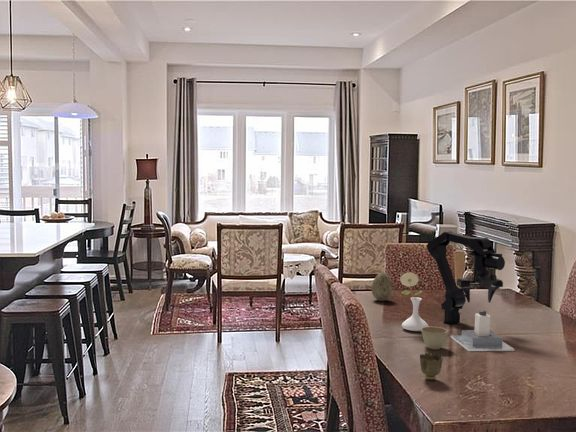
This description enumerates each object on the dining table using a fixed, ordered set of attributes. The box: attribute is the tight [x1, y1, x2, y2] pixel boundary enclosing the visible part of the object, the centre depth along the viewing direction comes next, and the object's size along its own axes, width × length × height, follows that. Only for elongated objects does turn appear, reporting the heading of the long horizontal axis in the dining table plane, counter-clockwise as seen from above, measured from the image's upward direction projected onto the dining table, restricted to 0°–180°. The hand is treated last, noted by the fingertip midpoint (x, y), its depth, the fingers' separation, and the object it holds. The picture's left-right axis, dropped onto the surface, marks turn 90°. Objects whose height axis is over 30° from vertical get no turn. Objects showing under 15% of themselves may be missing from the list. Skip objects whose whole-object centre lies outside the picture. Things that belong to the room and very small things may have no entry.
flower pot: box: [420, 326, 449, 350], centre depth 246 cm, size 10×10×7 cm
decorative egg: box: [371, 271, 393, 302], centre depth 329 cm, size 11×11×15 cm
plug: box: [473, 309, 491, 336], centre depth 252 cm, size 4×4×12 cm
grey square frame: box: [450, 329, 515, 352], centre depth 253 cm, size 20×18×4 cm
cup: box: [419, 352, 444, 382], centre depth 209 cm, size 8×7×8 cm
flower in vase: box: [399, 271, 430, 332], centre depth 272 cm, size 13×11×25 cm
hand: (478, 302), depth 274 cm, fingers open, 9 cm apart
